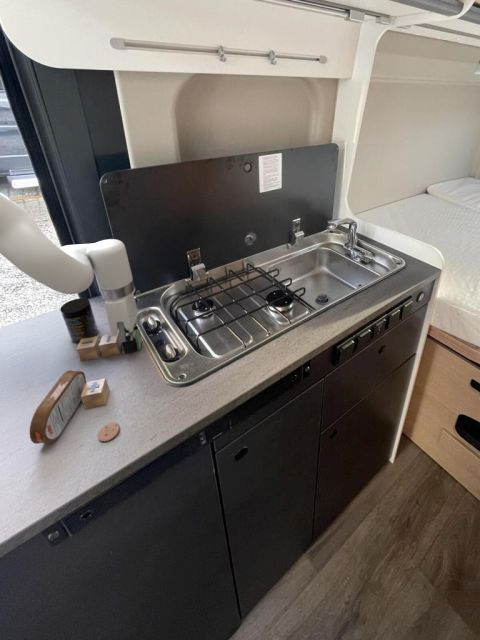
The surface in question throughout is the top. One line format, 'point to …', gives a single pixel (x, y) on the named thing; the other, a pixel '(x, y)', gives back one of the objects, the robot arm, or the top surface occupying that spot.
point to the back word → (100, 347)
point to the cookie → (108, 431)
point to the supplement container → (79, 319)
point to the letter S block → (138, 338)
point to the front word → (95, 393)
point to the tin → (57, 407)
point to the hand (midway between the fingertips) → (132, 344)
